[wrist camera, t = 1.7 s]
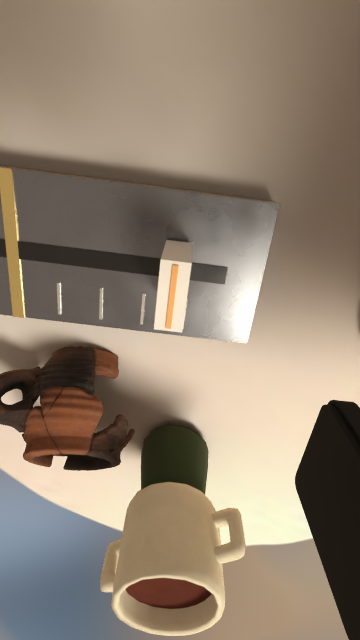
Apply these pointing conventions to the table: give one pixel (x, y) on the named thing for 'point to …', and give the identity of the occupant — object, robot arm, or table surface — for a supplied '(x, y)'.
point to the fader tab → (173, 286)
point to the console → (128, 252)
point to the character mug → (172, 542)
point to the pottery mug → (65, 410)
